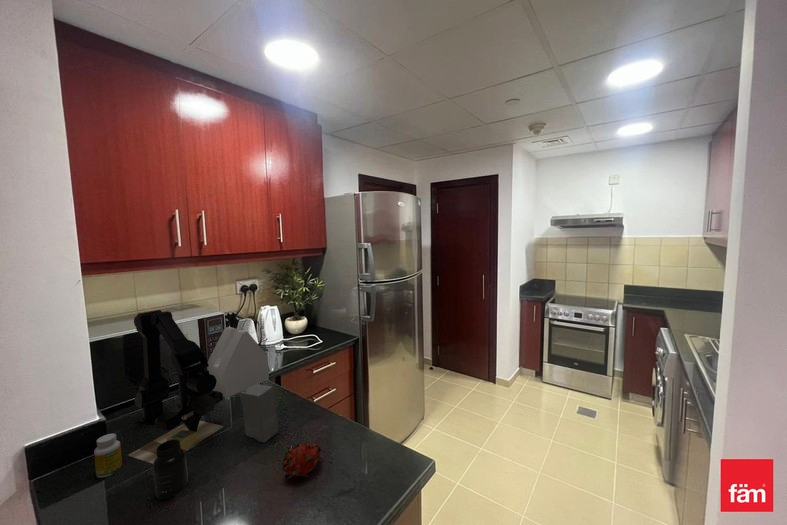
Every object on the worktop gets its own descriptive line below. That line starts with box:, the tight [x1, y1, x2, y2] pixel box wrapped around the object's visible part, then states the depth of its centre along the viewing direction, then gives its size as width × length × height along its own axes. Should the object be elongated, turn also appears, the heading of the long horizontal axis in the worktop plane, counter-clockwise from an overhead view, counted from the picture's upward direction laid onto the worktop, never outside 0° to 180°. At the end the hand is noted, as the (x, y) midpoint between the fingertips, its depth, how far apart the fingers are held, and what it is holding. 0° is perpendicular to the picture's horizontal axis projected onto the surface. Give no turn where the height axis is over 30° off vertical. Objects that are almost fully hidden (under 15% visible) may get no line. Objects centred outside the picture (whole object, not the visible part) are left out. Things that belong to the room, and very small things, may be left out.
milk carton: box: [206, 326, 270, 399], centre depth 139 cm, size 19×15×25 cm
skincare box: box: [239, 384, 280, 444], centre depth 100 cm, size 8×7×16 cm
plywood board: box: [127, 420, 224, 465], centre depth 98 cm, size 21×20×1 cm
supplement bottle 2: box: [152, 439, 189, 501], centre depth 79 cm, size 7×7×12 cm
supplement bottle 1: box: [93, 433, 123, 479], centre depth 86 cm, size 5×5×10 cm
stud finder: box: [167, 429, 197, 450], centre depth 96 cm, size 6×5×4 cm
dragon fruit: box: [281, 441, 322, 479], centre depth 84 cm, size 8×8×12 cm
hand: (193, 434), depth 99 cm, fingers closed
